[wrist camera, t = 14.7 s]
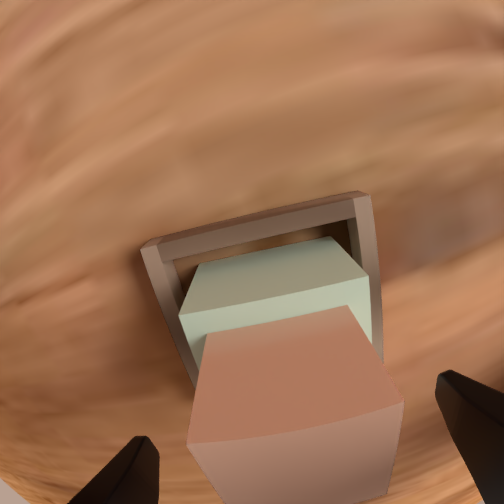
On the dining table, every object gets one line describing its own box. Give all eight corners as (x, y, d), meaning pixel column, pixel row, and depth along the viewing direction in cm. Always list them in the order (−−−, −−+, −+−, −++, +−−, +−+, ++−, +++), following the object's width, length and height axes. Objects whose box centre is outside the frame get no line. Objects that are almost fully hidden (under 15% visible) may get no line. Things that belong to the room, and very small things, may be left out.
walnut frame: (374, 361, 16) (383, 377, 15) (209, 397, 17) (207, 415, 15) (358, 190, 13) (370, 195, 12) (150, 239, 14) (139, 249, 12)
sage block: (342, 343, 16) (371, 407, 11) (231, 366, 16) (227, 436, 11) (329, 235, 14) (368, 275, 9) (199, 262, 14) (178, 315, 10)
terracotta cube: (352, 402, 11) (386, 493, 7) (239, 424, 11) (238, 522, 7) (347, 304, 10) (404, 401, 5) (207, 333, 10) (186, 443, 6)
